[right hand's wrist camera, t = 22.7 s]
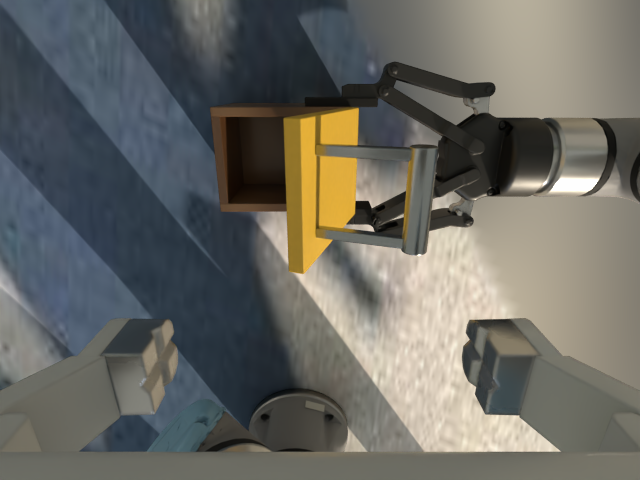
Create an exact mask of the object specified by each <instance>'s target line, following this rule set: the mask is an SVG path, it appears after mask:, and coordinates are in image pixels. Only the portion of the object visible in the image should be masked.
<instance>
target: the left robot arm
mask: <svg viewBox="0 0 640 480" xmlns="http://www.w3.org/2000/svg"><path fill="white" fill-rule="evenodd" d="M396 80H399V81H402V82H405V83H409V84H412V85H415V86H419V87H422V88H425V89H429V90H432V91H436V92H439V93H442V94H446V95H449V96H453V97H459V98H463V102H464V104H465V105H466V106H469V107H472V108H473V110H474V114H472V115H471V116H469V117H468V118H466V119H465V120H464V121H462V122H461V123H459V124H458V125H454V124H453V123H451V122H449V121H447V120H445V119H443V118H442V117H440V116H439V115H437V114H435V113H434V112H432V111H430V110H429V109H427V108H426V107H424V106H422V105H421V104H419V103H417V102H416V101H414V100H413V99H411V98H409V97H408V96H406V95H404V94H403V93H401V92H400V91H398V90H396V89H395V88H393V87H394V85H395V82H396ZM494 92H495V85H494V84H493V83H490V82H484V83H470V84H468V83H465V82H461V81H458V80H455V79H452V78H448V77H445V76H442V75H438V74H435V73H432V72H428V71H425V70H422V69H418V68H415V67H412V66H409V65H405V64H402V63H399V62H392V63H389V64H387V65H386V66H385V67H384V69H383V73H382V76H381V78H380V80H379V81H378V82H377V83H375V84H347V85H344V86H342V97H306V98H305V107H377V104H378V98H380V99H382V100H384V101H385V102H387V103H389V104H390V105H392V106H393V107H395V108H397V109H398V110H400V111H402V112H403V113H405V114H407V115H408V116H410V117H412V118H413V119H415V120H417V121H418V122H420V123H422V124H423V125H425V126H427V127H428V128H430V129H431V130H433V131H434V132H436V133H438V134H439V135H441V136H443V137H442V138H441V140H439V142H438V148H439V149H438V153H439V157H438V160H437V166H436V173H437V174H436V175H435V183H434V192H433V199H434V198H436V197H442V196H444V195H446V194H448V193H450V192H452V191H454V192H456V193H457V194H458V195H460V196H461V197H462V198H461V200H460V201H459V202H457V203H453V204H451V205H450V206H449V208H441V209H436V210H432V211H431V218H430V227H429V231H432V230H436V229H440V228H444V227H448V226H455V227H470V226H471V225H472V224H473V222H474V220H473V218H472V217H471V216H470V215H471V211H472V207H473V203H474V201H476V200H478V199H480V198H482V197H486V196H531V195H534V196H539V197H544V196H613V197H621V198H626V199H629V200H631V201H634V202H637V203H639V204H640V118H612V119H597V118H544V119H542V120H541V119H539V118H496V117H494V116H492V115H491V114H489V113H488V111H489V98H490V96H491V95H493V94H494ZM405 198H406V191H405V192H403V193H401V194H399V195H397V196H395V197H393V198H392V199H390V200H388V201H386V202H384V203H382V204H380V205H378V206H376V207H374V208H371V206H370V203H369V201H355V214H354V215H353V217H352V218H351V219H350V220H349V221H348V222H347V224H368V225H371V226H372V227H373V228H374V231H375V232H379V233H387V234H396V235H402V233H403V221H404V218H400V219H396V220H392V219H394V218H396V217H398V216H400V215H402V214H404V210H405ZM390 220H392V221H390ZM347 436H348V429H347V420H346V417H345V414H344V412H343V410H342V409H341V408H340V406H339V405H338V404H337V403H336V402H334V401H333V400H332V399H330V398H329V397H327V396H325V395H323V394H321V393H318V392H315V391H310V390H304V389H292V390H285V391H281V392H278V393H275V394H273V395H270V396H269V397H267V398H265V399H264V400H263V401H262V402H260V403H259V404H258V406H257V407H256V408H255V410H254V411H253V413H252V416H251V420H250V425H249V431H248V430H247V429H245V428H244V427H243V426H242V425H241V424H240V423H238V422H237V421H236V420H235V419H234V418H233V417H232V416H230V415H229V414H228V413H227V412H226V409H225V408H224V407H220V406H218V405H217V404H216V403H215V402H213V401H212V400H209V399H202V400H199V401H197V402H195V403H193V404H191V405H190V406H188V407H187V408H186V409H185V410H183V411H182V412H181V413H180V414H179V415H178V416H177V417H176V418H175V419H174V420H173V421H172V422H171V423H170V424H169V425H168V426H167V427H166V428H165V429H164V430H163V431H162V433H161V434H160V435H159V436H158V437H157V439H156V440H155V441H154V442H153V444H152V445H151V446H150V448H149V449H148V450H147V452H344V451H345V447H346V444H347Z"/></svg>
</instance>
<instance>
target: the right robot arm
mask: <svg viewBox="0 0 640 480" xmlns="http://www.w3.org/2000/svg"><path fill="white" fill-rule="evenodd" d="M173 334H174V329H173V325H172V322H171V321H170V320H169V319H131V318H123V319H112V320H110V321H109V322H108V323H107V324H106V325H105V326H104V327H103V328H102V330H101V331H100V332H99V333H98V334H97V335H96V336H95V337H94V338H93V339H92V340H91V341H90V343H89V344H88V345H87V346H86V347H85V348H84V349H83V350H82V351H81V352H80V353H79V355H78V356H70V357H68V358H66V359H64V360H62V361H60V362H58V363H56V364H54V365H52V366H50V367H48V368H46V369H43V370H41V371H39V372H37V373H35V374H33V375H31V376H29V377H27V378H25V379H23V380H21V381H19V382H17V383H15V384H13V385H11V386H9V387H6V388H4V389H2V390H0V480H640V390H637V389H635V388H633V387H631V386H629V385H627V384H625V383H623V382H621V381H619V380H617V379H615V378H613V377H611V376H609V375H607V374H605V373H603V372H600V371H598V370H596V369H594V368H592V367H590V366H588V365H586V364H584V363H582V362H580V361H578V360H576V359H574V358H572V357H570V356H562V355H561V354H560V353H559V351H558V350H557V349H556V348H555V347H554V346H553V345H552V344H551V343H550V341H549V340H548V339H547V338H546V337H545V336H544V335H543V334H542V333H541V332H540V331H539V329H538V328H537V327H536V326H535V325H534V324H533V323H532V322H531V321H530V320H528V319H526V318H517V319H489V320H469V322H468V324H467V329H466V334H467V336H468V337H469V339H470V340H469V341H468V342H467V343H466V344H465V345H464V346H463V353H462V362H463V369H464V372H465V375H466V377H467V379H468V381H469V382H470V383H472V384H473V385H474V386H476V391H475V395H476V397H477V399H478V401H479V403H480V405H481V407H482V409H483V411H484V413H485V414H490V415H520V418H521V419H523V420H524V421H525V422H526V423H527V424H529V425H530V426H531V427H532V428H533V429H535V430H536V431H537V432H538V433H540V434H541V435H542V436H543V437H544V438H546V439H547V440H548V441H549V442H550V443H552V444H553V445H554V446H555V447H556V448H558V449H559V450H560V451H561V452H79V451H80V450H81V449H82V448H84V447H85V446H86V445H87V444H89V443H90V442H91V441H92V440H93V439H95V438H96V437H97V436H98V435H99V434H101V433H102V432H103V431H104V430H105V429H107V428H108V427H109V426H110V425H112V424H113V423H114V422H115V421H116V420H118V419H119V418H120V415H149V414H155V413H156V411H157V409H158V407H159V405H160V403H161V401H162V399H163V397H164V395H165V391H164V386H166V385H167V384H168V383H170V382H171V381H172V379H173V377H174V375H175V373H176V368H177V364H178V352H177V346H176V345H175V344H174V343H173V342H172V341H171V340H170V339H171V337H172V336H173Z"/></svg>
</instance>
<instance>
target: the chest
mask: <svg viewBox="0 0 640 480" xmlns="http://www.w3.org/2000/svg"><path fill="white" fill-rule="evenodd" d="M340 108H346V107H305V103H231V104H226V105H220V106H214V107H210V112H211V122H212V132H213V141H214V151H215V161H216V170H217V180H218V189H219V199H220V208H221V211H287V204H286V175H285V147H284V118H286V117H292V116H298V115H304V114H310V113H316V112H322V111H328V110H334V109H340Z"/></svg>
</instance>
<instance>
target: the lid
mask: <svg viewBox="0 0 640 480" xmlns="http://www.w3.org/2000/svg"><path fill="white" fill-rule="evenodd" d="M358 115H359V108H358V107H346V108H340V109H334V110H328V111H322V112H316V113H310V114H304V115H298V116H292V117H286V118H284V147H285V175H286V204H287V232H288V260H289V272H294V273H300V274H304V273H305V272H306V271H307V270H308V269H309V267H310V266H311V265H312V264H313V263H314V261H315V260H316V259H317V258H318V257H319V256H320V254H321V253H322V252H323V251H324V250H325V248H326V247H327V246H328V245H329V244H330V243H331V241H332V240H338V241H346V242H353V243H361V244H369V245H377V246H384V247H392V248H400V249H401V250H402V252H404V253H406V254H409V255H423V254H425V253H426V252H427V244H428V235H429V227H430V218H431V209H432V201H433V192H434V183H435V175H436V166H437V157H438V149H439V148H438V147H437V146H434V145H412V146H410V148H407V147H386V146H364V145H357V142H358ZM357 158H361V159H378V160H396V161H409V164H408V176H407V187H406V198H405V210H404V221H403V233H402V235H396V234H387V233H379V232H370V231H362V230H353V229H345V228H343V227H344V226H345V225H346V224H347V222H348V221H349V220H350V219H351V218H352V217H353V215H354V214H355V198H356V170H357Z"/></svg>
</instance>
